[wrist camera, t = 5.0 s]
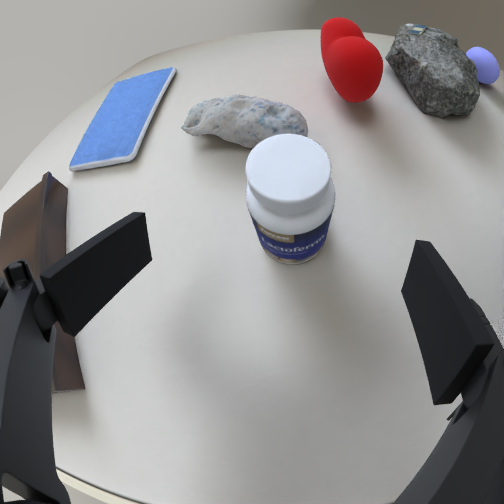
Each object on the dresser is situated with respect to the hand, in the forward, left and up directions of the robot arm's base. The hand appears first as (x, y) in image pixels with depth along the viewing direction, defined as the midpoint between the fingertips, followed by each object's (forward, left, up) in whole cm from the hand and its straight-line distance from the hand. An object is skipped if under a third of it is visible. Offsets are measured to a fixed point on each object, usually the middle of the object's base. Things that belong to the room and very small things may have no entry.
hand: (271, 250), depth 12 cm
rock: (-4, -36, -10) cm, 37 cm away
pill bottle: (+2, -5, -10) cm, 12 cm away
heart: (+5, -24, -10) cm, 26 cm away
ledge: (+25, +16, -10) cm, 31 cm away
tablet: (+32, -10, -10) cm, 35 cm away
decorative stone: (+12, -13, -10) cm, 20 cm away
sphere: (-13, -49, -10) cm, 51 cm away
